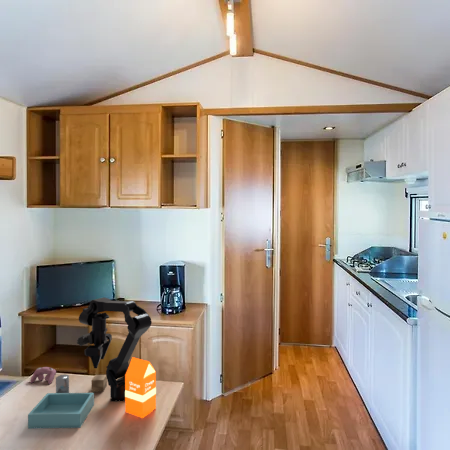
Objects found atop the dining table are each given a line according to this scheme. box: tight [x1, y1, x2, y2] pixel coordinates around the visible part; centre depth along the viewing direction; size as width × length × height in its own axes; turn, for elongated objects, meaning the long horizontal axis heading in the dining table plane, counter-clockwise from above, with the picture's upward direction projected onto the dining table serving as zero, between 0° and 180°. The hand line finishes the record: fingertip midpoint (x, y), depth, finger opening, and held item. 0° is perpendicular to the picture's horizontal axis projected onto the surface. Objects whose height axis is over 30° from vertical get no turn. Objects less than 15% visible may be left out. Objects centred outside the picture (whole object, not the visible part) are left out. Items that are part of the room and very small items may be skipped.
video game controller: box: [29, 366, 57, 385], centre depth 163 cm, size 10×5×7 cm, turn 84°
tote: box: [27, 392, 95, 429], centre depth 135 cm, size 18×15×5 cm
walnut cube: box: [91, 374, 108, 393], centre depth 156 cm, size 5×5×5 cm
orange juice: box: [124, 356, 157, 419], centre depth 139 cm, size 8×9×20 cm
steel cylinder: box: [55, 374, 70, 393], centre depth 152 cm, size 5×5×7 cm
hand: (99, 363), depth 156 cm, fingers open, 9 cm apart
